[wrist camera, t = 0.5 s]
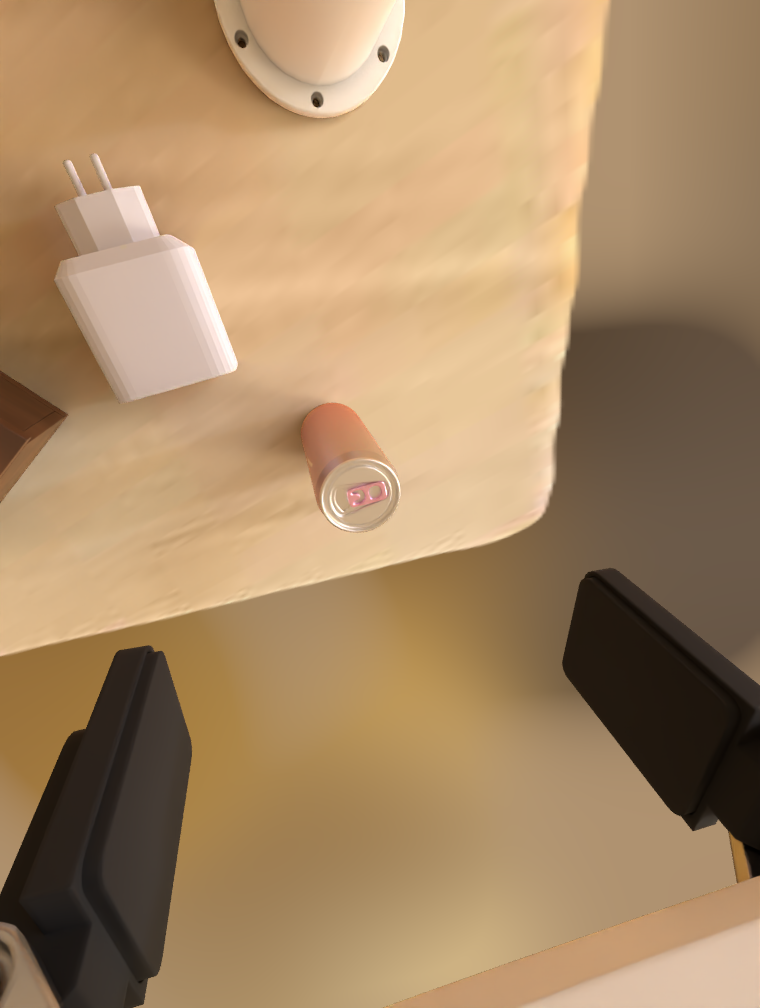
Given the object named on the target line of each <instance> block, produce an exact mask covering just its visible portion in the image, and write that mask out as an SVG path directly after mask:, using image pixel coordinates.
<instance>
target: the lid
mask: <svg viewBox="0 0 760 1008" xmlns="http://www.w3.org/2000/svg"><path fill="white" fill-rule="evenodd" d="M30 438H31V436H30V435H28V434H26V433H25V432H23V431H21V430H20V429H18V428H16V427H15V426H13V425H11V424H10V423H8V422H6V421H5V420H3V419H1V418H0V478H1V477H2V475H3V474H4V473H5V471H6V470H7V469H8V467H9V466H10V465H11V463H12V462H13V461H14V460H15V458H16V457H17V456H18V454H19V453H20V452H21V450H22V449H23V448H24V446H25V445H26V444H27V442H28V441H29V440H30Z"/></svg>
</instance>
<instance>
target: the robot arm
mask: <svg viewBox="0 0 760 1008" xmlns="http://www.w3.org/2000/svg"><path fill="white" fill-rule="evenodd" d="M214 3H215V7H216V11H217V15H218V19H219V23H220V25H221V28H222V30H223V33H224V35H225V37H226V40H227V42H228V45H229V47H230V49H231V51H232V52H233V54H234V56H235V57H236V59H237V61H238V63H239V64H240V66H241V68H242V69H243V70H244V72H245V73H246V74H247V75H248V77H249V78H250V79H251V80H252V82H253V83H254V84H255V85H256V86H257V87H258V88H259V89H260V90H261V91H262V92H263V93H264V94H265V95H267V96H268V97H269V98H270V99H271V100H272V101H274V102H276V103H277V104H279V105H280V106H282V107H284V108H285V109H287V110H289V111H292V112H294V113H297V114H300V115H302V116H307V117H314V118H328V117H337V116H339V115H342V114H345V113H347V112H350V111H352V110H354V109H355V108H357V107H358V106H360V105H361V104H362V103H364V102H365V101H366V100H367V99H368V98H369V97H370V96H371V95H372V94H373V93H374V92H375V91H376V90H377V89H378V87H379V85H380V84H381V82H382V81H383V79H384V78H385V76H386V75H387V73H388V71H389V69H390V67H391V65H392V63H393V61H394V58H395V55H396V52H397V49H398V46H399V42H400V39H401V34H402V28H403V21H404V15H405V0H214ZM240 40H242V41H244V42H245V44H246V46H245V48H241V47H239V45H238V42H239V41H240ZM378 55H381V56H382V57H383V59H384V61H383V62H381V61H380V60H379V59H378ZM315 99H316V100H318V102H319V107H315V106H314V105H313V100H315ZM562 664H563V670H564V672H565V674H566V676H567V678H568V679H569V680H570V682H571V683H572V684H573V685H574V687H575V688H576V689H577V690H578V692H579V693H580V694H581V696H582V697H583V698H584V700H585V701H586V702H587V703H588V705H589V706H590V707H591V709H592V710H593V711H594V713H595V714H596V715H597V716H598V718H599V719H600V720H601V722H602V723H603V724H604V725H605V727H606V728H607V729H608V731H609V732H610V733H611V734H612V736H613V737H614V738H615V739H616V741H617V742H618V743H619V744H620V746H621V747H622V749H623V750H624V751H625V753H626V754H627V755H628V756H629V757H630V759H631V760H632V761H633V763H634V764H635V765H636V767H637V768H638V769H639V771H640V772H641V773H642V774H643V776H644V777H645V778H646V779H647V781H648V782H649V784H650V785H651V786H652V787H653V788H654V790H655V791H656V792H657V794H658V795H659V796H660V798H661V799H662V800H663V801H664V803H665V804H666V805H667V807H668V808H669V809H670V810H671V811H672V812H673V813H675V814H677V815H679V816H681V817H682V818H683V819H684V820H685V822H686V823H687V824H688V826H689V827H690V828H691V829H692V831H695V830H699V829H701V828H705V827H708V826H711V825H714V824H716V822H717V820H718V819H719V820H720V822H721V823H722V824H723V825H724V826H725V827H726V829H727V830H728V833H729V839H730V845H731V851H732V857H733V863H734V869H735V875H736V881H737V884H734V885H731V886H728V887H726V888H722V889H720V890H717V891H714V892H711V893H708V894H705V895H702V896H699V897H696V898H693V899H691V900H687V901H685V902H682V903H679V904H676V905H673V906H670V907H667V908H664V909H661V910H659V911H655V912H653V913H650V914H647V915H644V916H641V917H638V918H635V919H632V920H630V921H627V922H624V923H621V924H618V925H615V926H612V927H610V928H607V929H604V930H601V931H598V932H595V933H593V934H590V935H587V936H584V937H581V938H578V939H575V940H572V941H570V942H567V943H564V944H561V945H558V946H555V947H552V948H549V949H547V950H544V951H541V952H538V953H536V954H532V955H530V956H527V957H524V958H521V959H519V960H515V961H512V962H510V963H507V964H504V965H501V966H498V967H495V968H493V969H490V970H487V971H484V972H481V973H478V974H476V975H473V976H470V977H467V978H464V979H462V980H459V981H456V982H453V983H450V984H448V985H445V986H442V987H439V988H436V989H433V990H431V991H428V992H425V993H422V994H419V995H417V996H414V997H411V998H408V999H405V1000H403V1001H400V1002H397V1003H394V1004H391V1005H389V1006H386V1007H383V1008H760V685H759V684H757V683H756V682H755V681H754V680H752V679H751V678H750V677H748V676H747V675H746V674H745V673H744V672H742V671H741V670H740V669H739V668H737V667H736V666H735V665H734V664H733V663H731V662H730V661H729V660H728V659H726V658H725V657H724V656H723V655H721V654H720V653H719V652H718V651H716V650H715V649H714V648H713V647H712V646H710V645H709V644H708V643H706V642H705V641H704V640H703V639H702V638H700V637H699V636H698V635H697V634H695V633H694V632H693V631H692V630H691V629H689V628H688V627H687V626H686V625H684V624H683V623H682V622H681V621H679V620H678V619H677V618H676V617H674V616H673V615H672V614H671V613H669V612H668V611H667V610H666V609H665V608H663V607H662V606H661V605H660V604H658V603H657V602H656V601H655V600H653V599H652V598H651V597H650V596H648V595H647V594H646V593H645V592H644V591H642V590H641V589H640V588H639V587H637V586H636V585H635V584H634V583H632V582H631V581H630V580H629V579H627V578H626V577H625V576H624V575H623V574H621V573H620V572H619V571H617V570H616V569H613V568H608V569H602V570H596V571H591V572H588V573H587V574H586V575H585V578H584V579H583V580H581V582H580V585H579V589H578V593H577V598H576V602H575V607H574V611H573V616H572V620H571V625H570V629H569V634H568V638H567V643H566V647H565V652H564V656H563V662H562ZM191 757H192V746H191V739H190V736H189V732H188V729H187V726H186V723H185V720H184V716H183V713H182V710H181V707H180V703H179V700H178V697H177V694H176V690H175V687H174V684H173V681H172V677H171V674H170V671H169V668H168V664H167V661H166V658H165V655H164V653H163V652H162V651H158V652H154V650H153V648H152V647H151V646H142V647H137V648H131V649H124V650H119V651H118V652H117V653H116V654H115V656H114V659H113V661H112V664H111V666H110V669H109V671H108V674H107V676H106V679H105V681H104V684H103V687H102V690H101V692H100V694H99V697H98V699H97V702H96V704H95V707H94V710H93V712H92V715H91V717H90V720H89V722H88V725H87V727H86V729H83V730H78V731H75V732H73V733H72V734H71V735H70V736H69V737H68V739H67V740H66V742H65V744H64V746H63V748H62V751H61V753H60V755H59V758H58V760H57V762H56V765H55V767H54V769H53V772H52V774H51V776H50V779H49V781H48V783H47V786H46V788H45V791H44V793H43V795H42V798H41V800H40V802H39V805H38V807H37V809H36V812H35V814H34V816H33V819H32V821H31V824H30V826H29V828H28V831H27V833H26V835H25V837H24V840H23V842H22V845H21V847H20V849H19V852H18V854H17V856H16V859H15V861H14V864H13V866H12V868H11V870H10V873H9V875H8V877H7V880H6V882H5V884H4V887H3V889H2V892H1V894H0V1008H133V1007H136V1006H139V1005H143V1004H144V999H145V993H146V987H147V981H148V978H151V977H154V976H156V975H157V974H158V972H159V970H160V966H161V961H162V957H163V950H164V943H165V935H166V929H167V922H168V916H169V909H170V902H171V895H172V888H173V881H174V874H175V868H176V861H177V854H178V846H179V840H180V833H181V827H182V819H183V812H184V806H185V799H186V792H187V785H188V778H189V772H190V765H191Z"/></svg>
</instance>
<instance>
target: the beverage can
mask: <svg viewBox="0 0 760 1008" xmlns="http://www.w3.org/2000/svg"><path fill="white" fill-rule="evenodd" d="M301 439H302V444H303V448H304V452H305V456H306V460H307V464H308V468H309V472H310V476H311V480H312V485H313V489H314V493H315V497H316V501H317V504H318V506H319V508H320V510H321V512H322V513H323V514H324V515H325V517H326V518H327V520H328V521H329V522H330V523H331V524H333V525H334V526H335V527H337V528H339V529H341V530H344V531H347V532H355V533H358V532H366V531H370V530H373V529H375V528H377V527H379V526H381V525H382V524H384V523H385V522H386V521H387V520H388V519H389V518H390V517H391V516H392V515H393V513H394V512H395V510H396V508H397V506H398V503H399V500H400V485H399V480H398V476H397V473H396V470H395V469H394V467H393V465H392V464H391V463H390V461H389V460H388V458H387V457H386V455H385V454H384V452H383V451H382V450H381V448H380V447H379V445H378V444H377V442H376V441H375V439H374V438H373V437H372V435H371V434H370V432H369V431H368V429H367V428H366V427H365V425H364V424H363V422H362V421H361V419H360V418H359V416H358V415H357V414H356V413H355V412H354V411H353V410H352V409H351V408H349V407H348V406H345V405H343V404H339V403H326V404H323V405H320V406H318V407H316V408H315V409H313V410H312V411H311V412H310V413H309V414H308V415H307V416H306V418H305V420H304V422H303V424H302V428H301Z"/></svg>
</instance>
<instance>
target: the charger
mask: <svg viewBox="0 0 760 1008" xmlns="http://www.w3.org/2000/svg"><path fill="white" fill-rule="evenodd" d="M90 159H91V161H92V163H93V166H94V168H95V170H96V172H97V175H98V177H99V179H100V182H101V184H102V186H103V188H104V191H100V192H96V193H92V194H88V195H87V194H86V192H85V190H84V188H83V186H82V183H81V181H80V179H79V177H78V175H77V173H76V170H75V168H74V166H73V164H72V162H71V161H70V160H64V161H63V164H64V167H65V169H66V171H67V173H68V175H69V177H70V179H71V181H72V184H73V186H74V188H75V190H76V192H77V194H78V196H79V197H75V198H72V199H70V200H67V201H64V202H62V203H59V204H57V205H56V206H54V207H55V209H56V211H57V213H58V215H59V217H60V219H61V221H62V223H63V225H64V227H65V229H66V231H67V233H68V235H69V237H70V239H71V241H72V243H73V245H74V247H75V249H76V251H77V253H78V255H79V256H78V257H74V258H70V259H66V260H63V261H61V262H60V265H59V267H58V270H57V273H56V276H55V279H54V281H55V283H56V285H57V287H58V289H59V291H60V293H61V295H62V297H63V298H64V300H65V302H66V304H67V306H68V308H69V310H70V312H71V313H72V315H73V317H74V319H75V321H76V323H77V325H78V327H79V328H80V330H81V332H82V334H83V336H84V338H85V340H86V342H87V343H88V345H89V347H90V349H91V351H92V353H93V355H94V357H95V359H96V360H97V362H98V364H99V366H100V368H101V370H102V372H103V374H104V375H105V377H106V379H107V381H108V383H109V385H110V387H111V389H112V390H113V392H114V394H115V396H116V398H117V400H118V402H119V404H120V403H126V402H130V401H134V400H138V399H142V398H145V397H149V396H152V395H155V394H159V393H162V392H166V391H169V390H173V389H176V388H180V387H183V386H187V385H190V384H194V383H197V382H201V381H204V380H208V379H211V378H215V377H218V376H221V375H224V374H227V373H230V372H233V371H235V370H236V368H237V365H238V362H237V360H236V357H235V354H234V352H233V349H232V347H231V344H230V341H229V339H228V336H227V333H226V331H225V328H224V326H223V323H222V320H221V318H220V315H219V312H218V310H217V307H216V305H215V302H214V299H213V297H212V294H211V291H210V289H209V286H208V284H207V281H206V278H205V276H204V273H203V270H202V268H201V265H200V263H199V260H198V257H197V255H196V252H195V249H194V248H192V247H191V246H189V245H187V244H186V243H184V242H182V241H181V240H179V239H177V238H176V237H174V236H172V235H169V234H166V235H161V236H160V234H159V232H158V229H157V227H156V224H155V222H154V220H153V217H152V215H151V212H150V210H149V207H148V205H147V202H146V200H145V197H144V195H143V193H142V190H141V188H140V186H129V187H122V188H115V189H112V186H111V184H110V182H109V180H108V177H107V175H106V173H105V170H104V168H103V166H102V163H101V161H100V159H99V157H98V155H97V154H91V155H90Z"/></svg>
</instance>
